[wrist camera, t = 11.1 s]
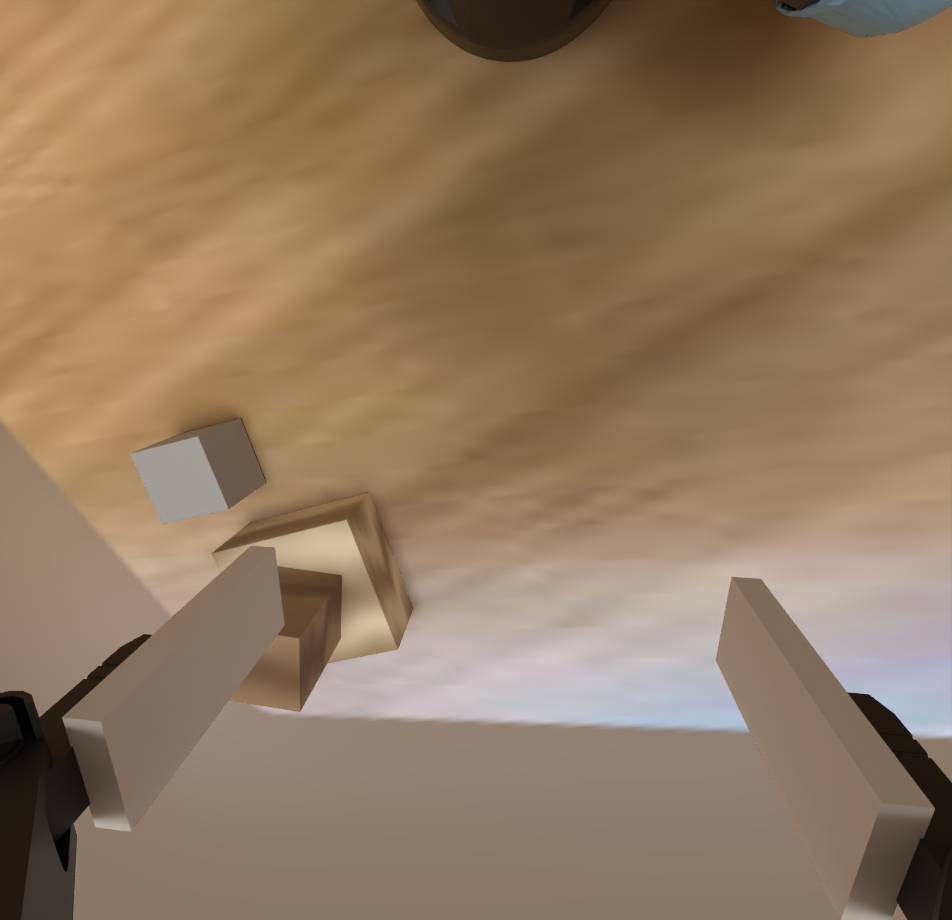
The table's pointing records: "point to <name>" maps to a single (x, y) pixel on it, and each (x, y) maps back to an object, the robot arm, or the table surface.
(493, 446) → the table surface
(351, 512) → the birch block
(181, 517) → the slate cube
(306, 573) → the walnut block
